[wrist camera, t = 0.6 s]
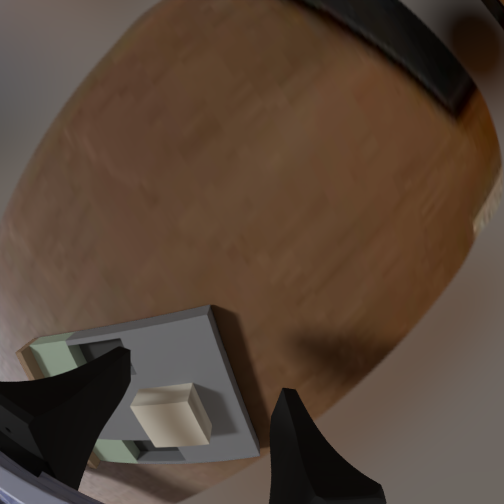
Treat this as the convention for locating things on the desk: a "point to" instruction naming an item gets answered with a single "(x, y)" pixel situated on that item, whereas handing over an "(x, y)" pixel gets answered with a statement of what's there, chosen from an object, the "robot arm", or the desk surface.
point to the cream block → (172, 416)
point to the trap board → (156, 383)
